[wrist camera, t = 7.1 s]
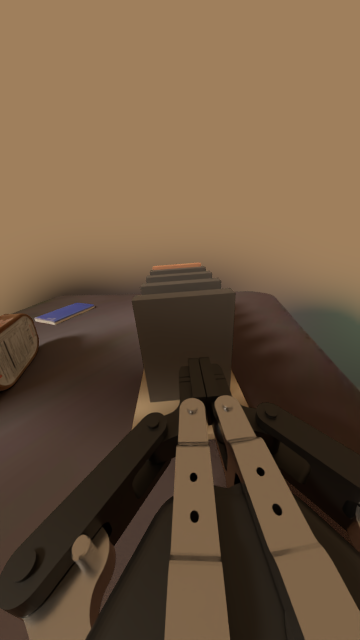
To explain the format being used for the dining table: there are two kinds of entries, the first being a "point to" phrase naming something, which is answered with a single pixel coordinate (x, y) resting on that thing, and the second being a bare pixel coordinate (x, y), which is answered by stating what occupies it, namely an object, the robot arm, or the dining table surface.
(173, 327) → the domino
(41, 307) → the dining table surface
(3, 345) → the tin
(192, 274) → the domino
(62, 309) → the blue notebook
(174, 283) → the domino
